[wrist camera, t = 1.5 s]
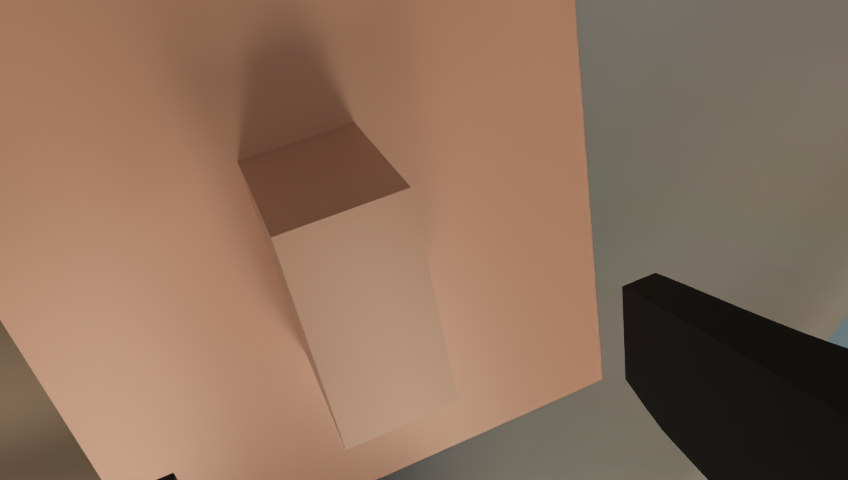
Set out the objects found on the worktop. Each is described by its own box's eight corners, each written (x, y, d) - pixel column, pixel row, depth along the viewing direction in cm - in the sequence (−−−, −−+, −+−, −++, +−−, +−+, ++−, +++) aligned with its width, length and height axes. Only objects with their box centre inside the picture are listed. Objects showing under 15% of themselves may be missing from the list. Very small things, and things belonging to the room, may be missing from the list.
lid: (578, 352, 23) (673, 457, 19) (157, 534, 20) (174, 697, 16) (525, -209, 15) (672, -216, 11) (-189, -34, 12) (-309, 35, 8)
